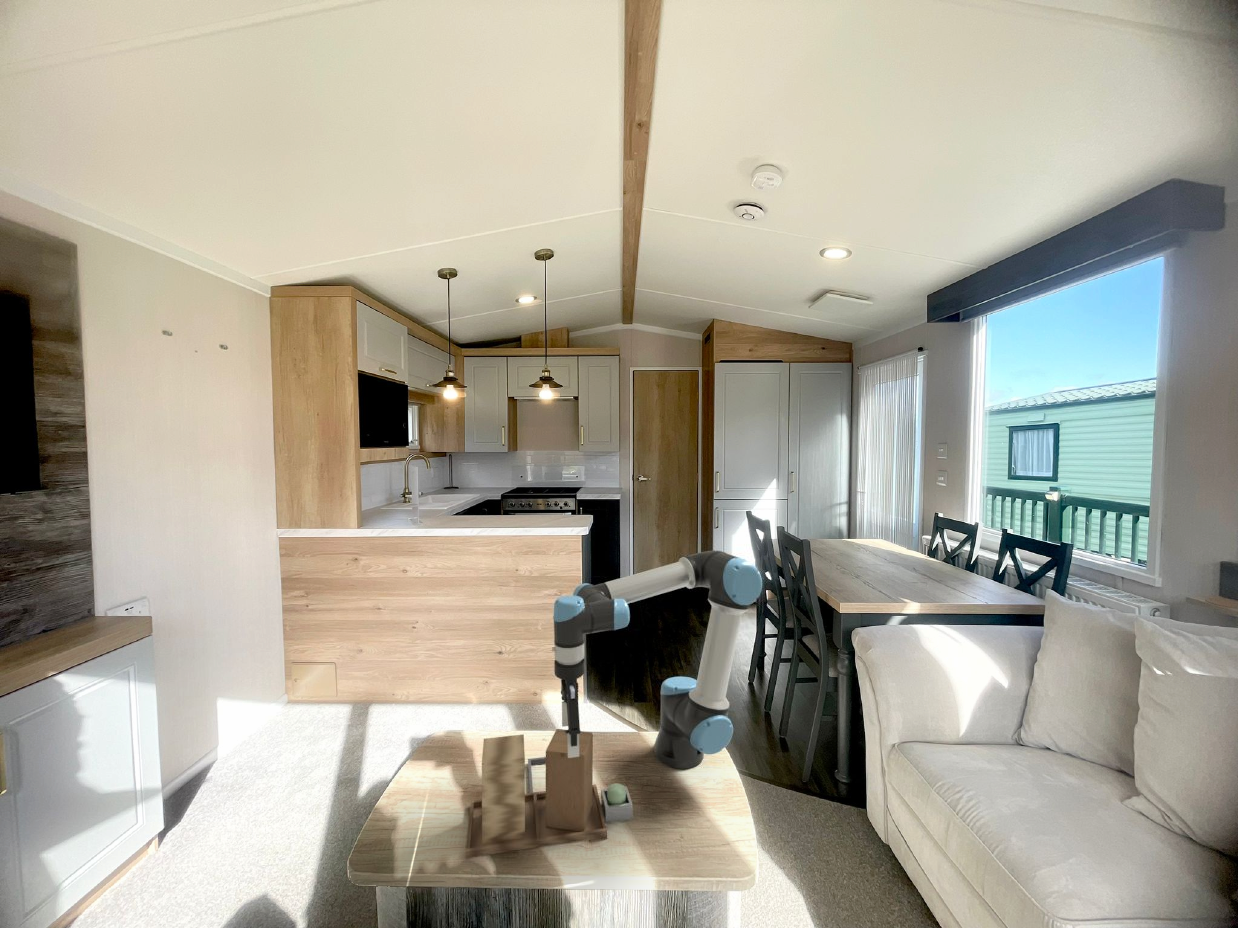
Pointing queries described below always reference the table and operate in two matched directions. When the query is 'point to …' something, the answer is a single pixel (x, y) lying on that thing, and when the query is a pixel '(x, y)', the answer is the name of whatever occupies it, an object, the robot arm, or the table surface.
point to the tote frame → (531, 762)
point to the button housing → (616, 808)
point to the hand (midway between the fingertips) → (570, 740)
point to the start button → (616, 794)
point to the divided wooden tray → (534, 827)
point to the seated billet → (503, 789)
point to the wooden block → (569, 782)
